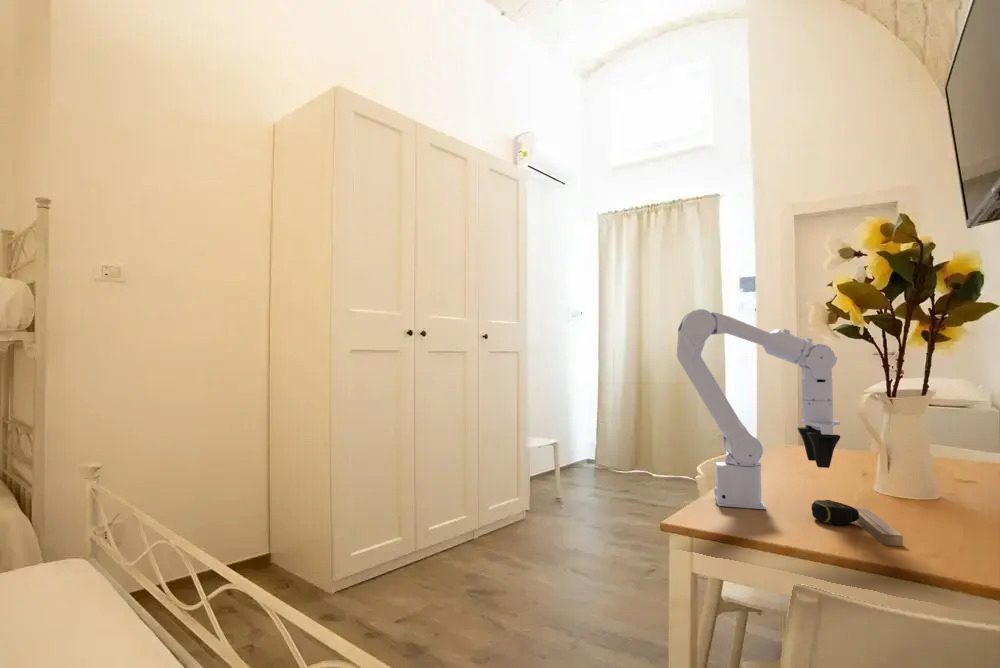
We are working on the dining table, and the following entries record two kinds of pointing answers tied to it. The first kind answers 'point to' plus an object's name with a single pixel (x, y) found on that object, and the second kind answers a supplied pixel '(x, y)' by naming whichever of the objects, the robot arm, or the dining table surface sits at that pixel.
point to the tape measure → (834, 512)
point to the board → (879, 528)
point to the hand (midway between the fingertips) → (818, 463)
